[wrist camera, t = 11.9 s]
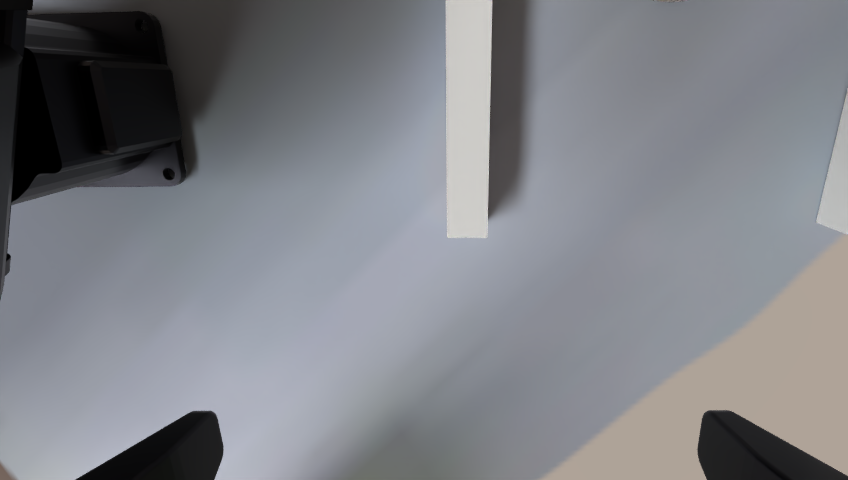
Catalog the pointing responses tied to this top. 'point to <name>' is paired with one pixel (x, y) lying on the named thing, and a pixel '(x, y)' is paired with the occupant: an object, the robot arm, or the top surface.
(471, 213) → the lane
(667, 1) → the jar
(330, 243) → the top surface
